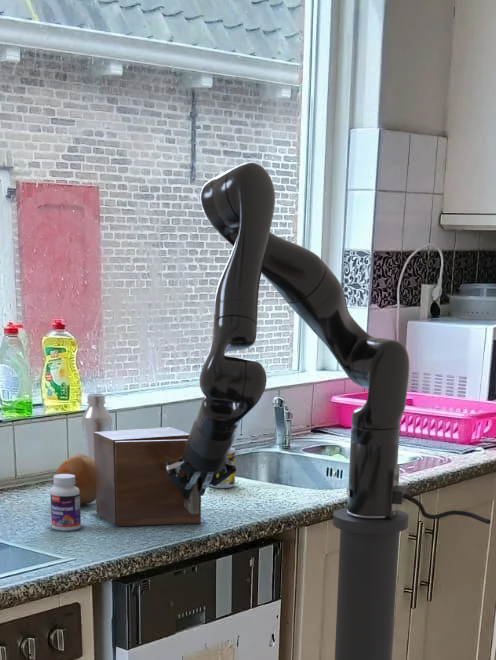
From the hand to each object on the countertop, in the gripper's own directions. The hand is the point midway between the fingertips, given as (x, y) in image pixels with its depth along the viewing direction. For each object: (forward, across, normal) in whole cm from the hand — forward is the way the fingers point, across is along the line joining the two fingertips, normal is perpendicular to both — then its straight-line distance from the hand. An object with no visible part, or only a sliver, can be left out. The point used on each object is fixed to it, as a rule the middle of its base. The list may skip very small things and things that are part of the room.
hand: (190, 494), depth 222 cm
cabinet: (+13, +6, -4) cm, 15 cm away
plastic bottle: (+32, +9, -22) cm, 40 cm away
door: (+5, +5, +3) cm, 8 cm away
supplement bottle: (+30, -18, -20) cm, 41 cm away
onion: (+23, +16, -14) cm, 31 cm away
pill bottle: (+10, +22, 0) cm, 24 cm away
